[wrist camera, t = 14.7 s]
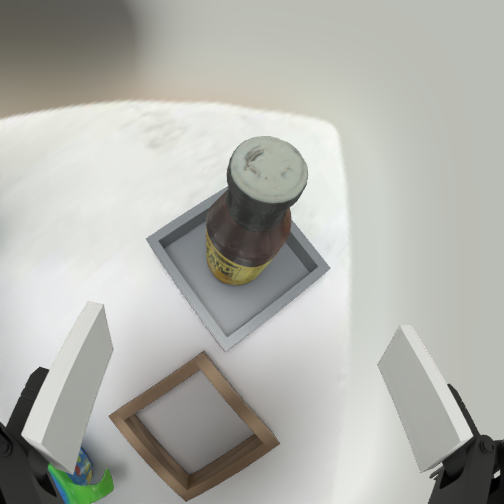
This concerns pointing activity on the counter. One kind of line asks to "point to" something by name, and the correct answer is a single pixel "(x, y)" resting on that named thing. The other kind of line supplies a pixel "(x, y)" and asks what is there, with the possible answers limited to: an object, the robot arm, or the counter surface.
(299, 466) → the counter surface
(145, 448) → the square brown frame
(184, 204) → the counter surface
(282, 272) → the tray
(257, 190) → the sauce bottle
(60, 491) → the snack cup
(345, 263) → the counter surface
